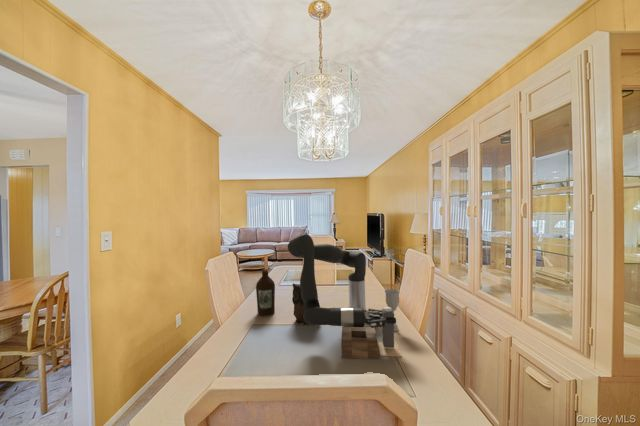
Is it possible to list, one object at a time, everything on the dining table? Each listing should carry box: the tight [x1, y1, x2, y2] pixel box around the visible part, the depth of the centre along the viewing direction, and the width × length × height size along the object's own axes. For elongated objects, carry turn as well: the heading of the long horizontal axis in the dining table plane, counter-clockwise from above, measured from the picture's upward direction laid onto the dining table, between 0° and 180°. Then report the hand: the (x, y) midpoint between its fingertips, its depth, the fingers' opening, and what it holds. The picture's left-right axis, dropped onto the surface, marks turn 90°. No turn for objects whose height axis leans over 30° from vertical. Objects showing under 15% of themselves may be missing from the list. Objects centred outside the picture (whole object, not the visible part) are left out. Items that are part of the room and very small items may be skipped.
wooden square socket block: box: [340, 326, 379, 360], centre depth 107 cm, size 14×14×6 cm
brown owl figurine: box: [291, 282, 310, 326], centre depth 135 cm, size 13×13×20 cm
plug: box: [381, 306, 395, 348], centre depth 105 cm, size 4×4×15 cm
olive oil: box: [255, 268, 276, 317], centre depth 148 cm, size 11×11×25 cm
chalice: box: [384, 288, 400, 332], centre depth 124 cm, size 7×7×18 cm
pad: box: [378, 341, 402, 358], centre depth 105 cm, size 10×8×1 cm
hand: (394, 318), depth 105 cm, fingers closed on plug, 4 cm apart
